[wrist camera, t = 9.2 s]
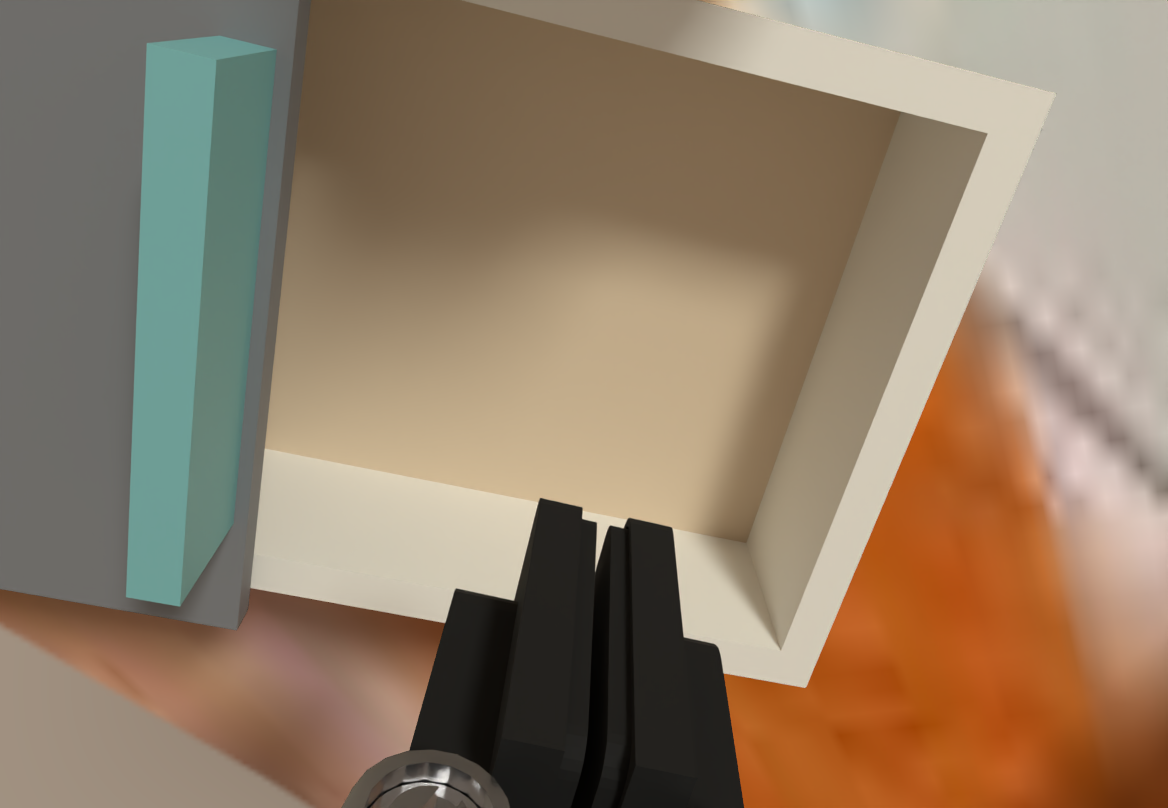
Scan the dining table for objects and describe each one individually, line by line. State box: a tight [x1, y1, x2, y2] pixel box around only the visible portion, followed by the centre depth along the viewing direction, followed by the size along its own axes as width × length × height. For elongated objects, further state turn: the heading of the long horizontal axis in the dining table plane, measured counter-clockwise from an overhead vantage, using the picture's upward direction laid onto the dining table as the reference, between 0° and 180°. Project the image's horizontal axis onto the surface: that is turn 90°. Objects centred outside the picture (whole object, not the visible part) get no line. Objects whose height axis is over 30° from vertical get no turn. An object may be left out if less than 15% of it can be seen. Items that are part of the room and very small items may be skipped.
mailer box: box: [250, 0, 1056, 688], centre depth 22 cm, size 20×15×6 cm
